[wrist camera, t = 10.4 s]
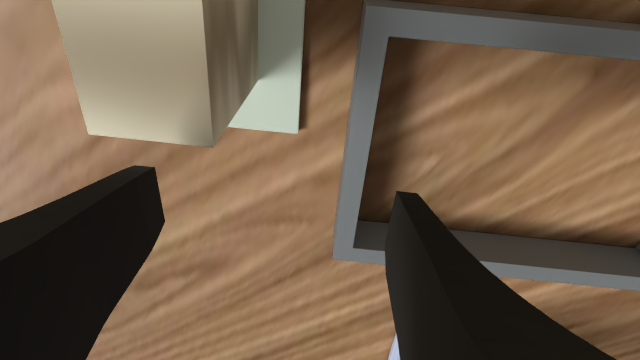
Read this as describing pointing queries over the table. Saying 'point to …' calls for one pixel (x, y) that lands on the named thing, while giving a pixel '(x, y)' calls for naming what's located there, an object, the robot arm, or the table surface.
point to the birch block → (160, 65)
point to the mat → (276, 69)
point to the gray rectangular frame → (488, 30)
